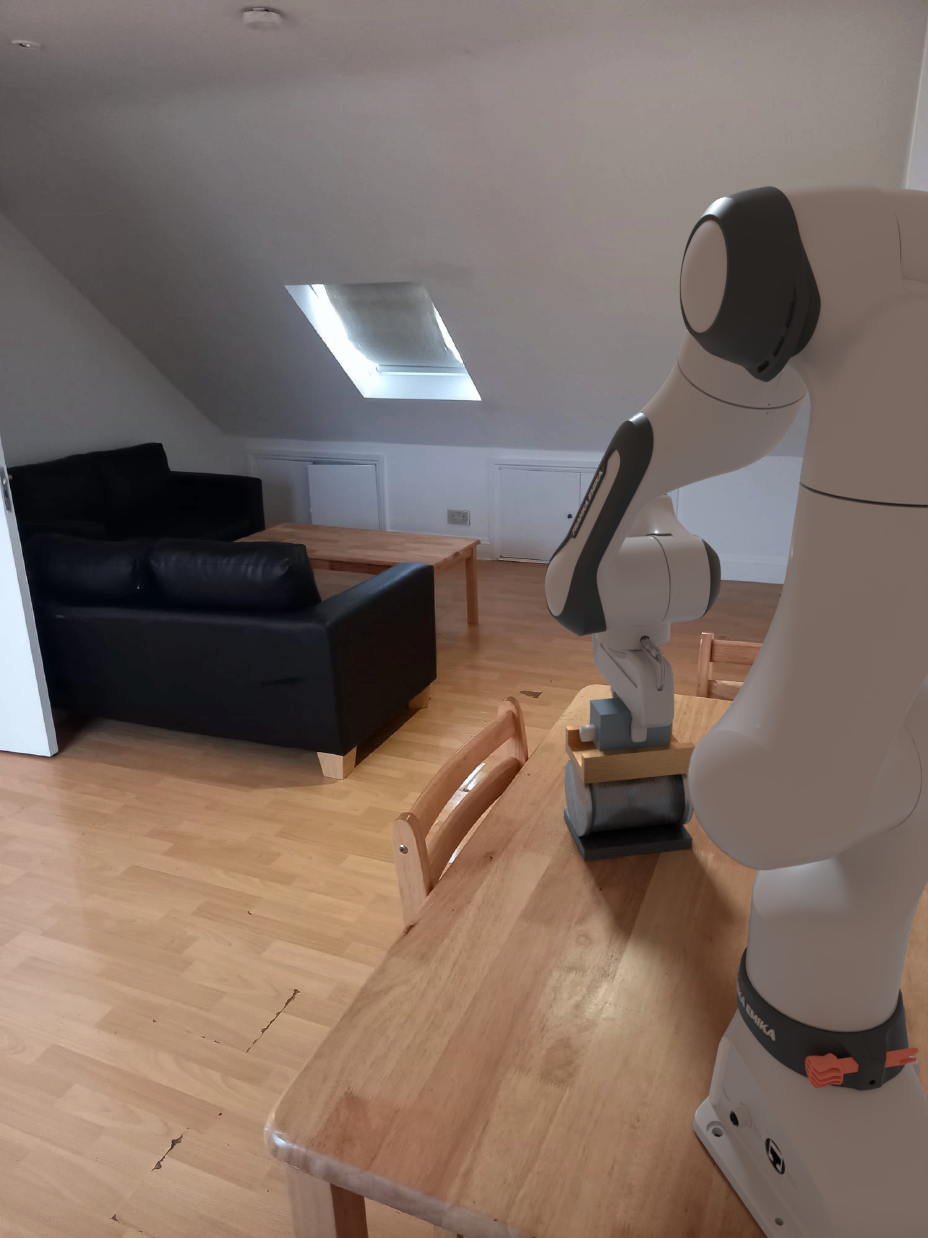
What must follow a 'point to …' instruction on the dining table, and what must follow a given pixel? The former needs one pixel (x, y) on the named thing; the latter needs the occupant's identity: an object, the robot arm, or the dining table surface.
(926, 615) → the robot arm
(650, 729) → the blue-grey rectangular block
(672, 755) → the wood-topped grey cylinder
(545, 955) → the dining table surface
